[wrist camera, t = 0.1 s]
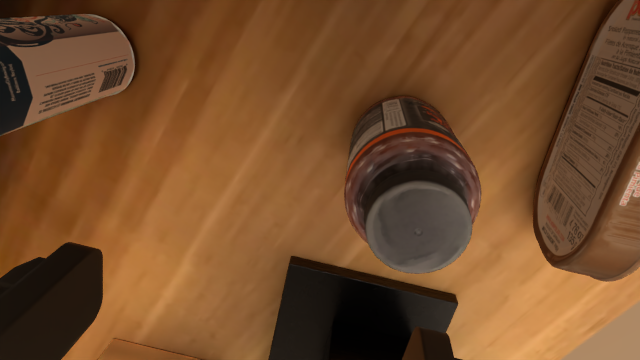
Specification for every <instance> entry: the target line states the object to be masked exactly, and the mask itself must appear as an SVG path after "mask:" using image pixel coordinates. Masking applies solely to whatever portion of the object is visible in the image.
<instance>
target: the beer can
mask: <svg viewBox="0 0 640 360" xmlns="http://www.w3.org/2000/svg"><path fill="white" fill-rule="evenodd" d="M134 69H135V59H134V53H133V50H132V47H131V45H130V42H129V41H128V39H127V38H126V36H125V35H124V33H123V32H122V31H121V30H120V29H119V28H118V27H117V26H116V25H115V24H114V23H112V22H111V21H109V20H107V19H106V18H103V17H100V16H97V15H91V14H76V15H57V16H38V17H19V18H0V136H1V135H4V134H7V133H9V132H12V131H15V130H18V129H20V128H23V127H26V126H28V125H31V124H34V123H36V122H39V121H42V120H44V119H47V118H50V117H52V116H55V115H58V114H61V113H63V112H66V111H69V110H71V109H74V108H77V107H79V106H82V105H85V104H87V103H90V102H93V101H96V100H98V99H101V98H104V97H107V96H111V95H114V94H117V93H119V92H121V91H123V90H124V89H125V88H126V87H127V86H128V85H129V84H130V82H131V80H132V77H133V74H134Z"/></svg>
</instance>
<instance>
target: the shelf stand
mask: <svg viewBox="0 0 640 360" xmlns="http://www.w3.org/2000/svg"><path fill="white" fill-rule="evenodd" d="M457 305H458V302H457V298H456V295H454V294H449V293H445V292H441V291H437V290H433V289H428V288H424V287H420V286H416V285H412V284H407V283H403V282H399V281H395V280H391V279H386V278H382V277H378V276H374V275H370V274H365V273H361V272H357V271H353V270H349V269H344V268H340V267H336V266H332V265H327V264H323V263H319V262H315V261H311V260H306V259H302V258H298V257H294V256H291V259H290V263H289V267H288V271H287V276H286V281H285V285H284V290H283V294H282V299H281V304H280V308H279V313H278V318H277V322H276V327H275V331H274V336H273V341H272V345H271V350H270V355H269V359H268V360H402V358H403V355H404V353H405V350H406V348H407V345H408V343H409V340H410V338H411V335H412V332H413V330H414V329H415V327H417V326H418V327H422V328H426V329H431V330H435V331H439V332H443V333H446V331H447V328H448V326H449V324H450V322H451V319H452V317H453V315H454V312H455V310H456V308H457Z"/></svg>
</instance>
